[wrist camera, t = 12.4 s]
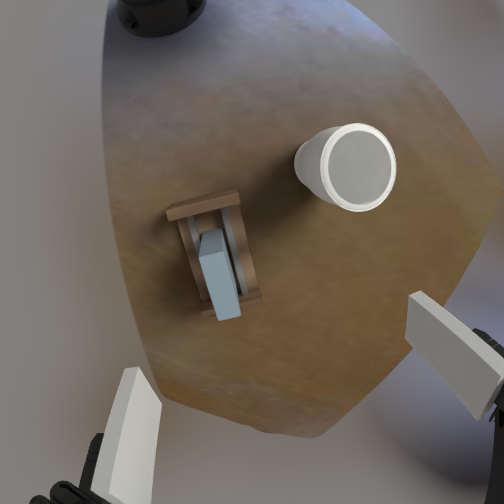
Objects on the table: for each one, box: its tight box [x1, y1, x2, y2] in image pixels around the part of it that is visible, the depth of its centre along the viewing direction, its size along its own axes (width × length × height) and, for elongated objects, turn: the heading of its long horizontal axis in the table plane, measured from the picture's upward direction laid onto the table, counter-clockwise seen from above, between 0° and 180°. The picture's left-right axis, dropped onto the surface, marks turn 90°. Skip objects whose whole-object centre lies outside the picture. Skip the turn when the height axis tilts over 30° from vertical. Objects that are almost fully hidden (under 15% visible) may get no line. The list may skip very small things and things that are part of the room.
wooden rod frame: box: [166, 187, 263, 317], centre depth 43 cm, size 18×10×7 cm, turn 12°
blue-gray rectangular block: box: [199, 227, 241, 321], centre depth 40 cm, size 9×3×12 cm, turn 12°
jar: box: [294, 123, 396, 211], centre depth 37 cm, size 11×10×15 cm
